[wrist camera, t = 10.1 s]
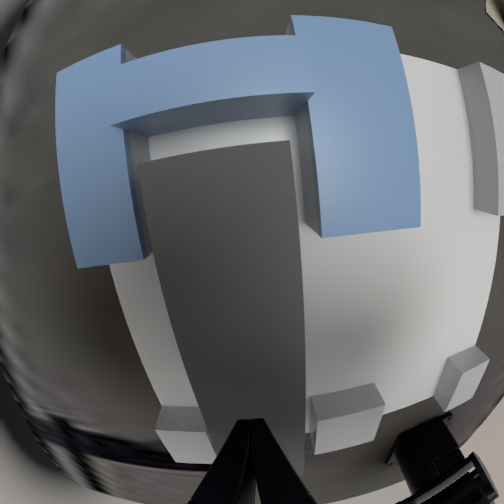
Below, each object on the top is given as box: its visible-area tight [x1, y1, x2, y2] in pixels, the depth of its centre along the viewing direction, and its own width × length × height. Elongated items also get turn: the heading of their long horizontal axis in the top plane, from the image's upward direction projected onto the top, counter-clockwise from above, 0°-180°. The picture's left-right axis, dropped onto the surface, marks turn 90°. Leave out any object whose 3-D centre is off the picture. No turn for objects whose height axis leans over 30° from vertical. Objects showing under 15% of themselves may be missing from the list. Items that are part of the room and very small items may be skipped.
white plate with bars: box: [55, 15, 504, 464], centre depth 11 cm, size 22×22×4 cm
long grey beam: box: [138, 140, 306, 476], centre depth 11 cm, size 16×4×4 cm, turn 7°
